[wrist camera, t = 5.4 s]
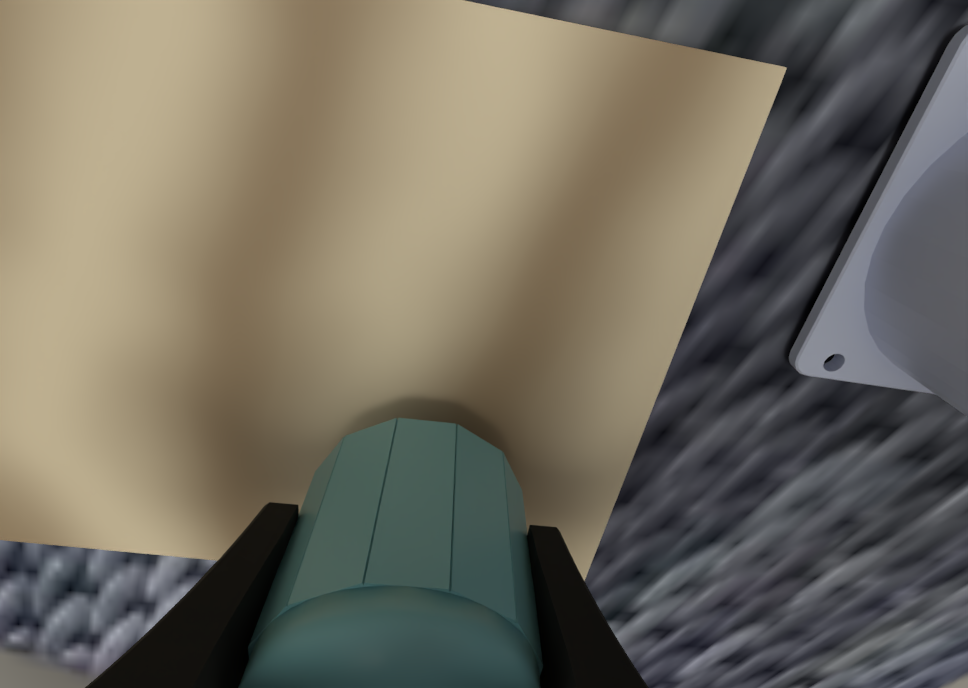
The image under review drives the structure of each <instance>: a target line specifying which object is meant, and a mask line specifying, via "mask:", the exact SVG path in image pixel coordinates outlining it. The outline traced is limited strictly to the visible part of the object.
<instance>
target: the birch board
mask: <svg viewBox="0 0 968 688" xmlns="http://www.w3.org/2000/svg"><path fill="white" fill-rule="evenodd" d="M786 69H787V67H782V66H777V65H772V64H767V63H763V62H758V61H753V60H748V59H743V58H739V57H734V56H729V55H724V54H719V53H714V52H710V51H705V50H700V49H695V48H690V47H686V46H681V45H676V44H671V43H666V42H662V41H657V40H652V39H647V38H642V37H637V36H633V35H628V34H623V33H618V32H613V31H609V30H604V29H599V28H594V27H589V26H584V25H580V24H575V23H570V22H565V21H560V20H556V19H551V18H546V17H541V16H536V15H532V14H527V13H522V12H517V11H512V10H507V9H503V8H498V7H493V6H488V5H483V4H479V3H474V2H469V1H464V0H0V540H7V541H17V542H28V543H38V544H49V545H60V546H70V547H81V548H91V549H102V550H112V551H123V552H133V553H144V554H155V555H165V556H176V557H186V558H197V559H207V560H219V559H220V558H221V556H222V555H223V554H224V553H225V552H226V551H227V550H228V549H229V547H230V546H231V545H232V544H233V543H234V542H235V541H236V539H237V538H238V537H239V536H240V535H241V534H242V532H243V531H244V530H245V529H246V528H247V526H248V525H249V524H250V523H251V522H252V520H253V519H254V518H255V517H256V516H257V514H258V513H259V512H260V511H261V509H262V508H263V507H264V506H265V505H266V504H268V503H269V502H273V503H284V504H296V505H298V509H299V513H300V510H301V507H302V505H303V502H304V500H305V497H306V494H307V492H308V489H309V486H310V484H311V481H312V479H313V476H314V473H315V471H316V470H317V469H318V468H319V466H320V465H321V464H322V463H323V461H324V460H325V459H326V458H327V457H328V455H329V454H330V453H331V452H332V450H333V449H334V448H335V447H336V446H337V444H338V443H339V442H340V441H341V439H342V438H343V437H345V436H346V435H349V434H352V433H355V432H357V431H360V430H363V429H366V428H369V427H372V426H375V425H377V424H380V423H383V422H386V421H389V420H392V419H395V418H397V419H398V418H407V419H416V420H426V421H436V422H446V423H455V424H456V425H457V424H458V425H460V426H462V427H463V428H465V429H467V430H468V431H470V432H472V433H473V434H475V435H477V436H478V437H480V438H481V439H483V440H485V441H486V442H488V443H490V444H491V445H493V446H495V447H496V448H498V449H499V450H501V451H502V452H503V453H504V455H505V457H506V459H507V461H508V463H509V465H510V467H511V469H512V471H513V473H514V475H515V477H516V479H517V481H518V483H519V485H520V487H521V489H522V493H523V501H524V510H525V518H526V526H527V534H528V530H529V526H530V525H538V526H550V527H557V528H558V529H559V531H560V532H561V535H562V537H563V539H564V541H565V543H566V545H567V548H568V550H569V552H570V554H571V556H572V558H573V560H574V562H575V564H576V566H577V568H578V570H579V572H580V574H581V576H582V578H583V580H584V581H585V578H586V576H587V573H588V571H589V568H590V565H591V563H592V560H593V558H594V555H595V553H596V550H597V548H598V545H599V543H600V540H601V538H602V535H603V533H604V530H605V527H606V525H607V522H608V520H609V517H610V515H611V512H612V510H613V507H614V505H615V502H616V500H617V497H618V495H619V492H620V489H621V487H622V484H623V482H624V479H625V477H626V474H627V472H628V469H629V467H630V464H631V462H632V459H633V457H634V454H635V451H636V449H637V446H638V444H639V441H640V439H641V436H642V434H643V431H644V429H645V426H646V424H647V421H648V419H649V416H650V413H651V411H652V408H653V406H654V403H655V401H656V398H657V396H658V393H659V391H660V388H661V386H662V383H663V381H664V378H665V375H666V373H667V370H668V368H669V365H670V363H671V360H672V358H673V355H674V353H675V350H676V348H677V345H678V343H679V340H680V337H681V335H682V332H683V330H684V327H685V325H686V322H687V320H688V317H689V315H690V312H691V310H692V307H693V305H694V302H695V299H696V297H697V294H698V292H699V289H700V287H701V284H702V282H703V279H704V277H705V274H706V272H707V269H708V267H709V264H710V261H711V259H712V256H713V254H714V251H715V249H716V246H717V244H718V241H719V239H720V236H721V234H722V231H723V229H724V226H725V223H726V221H727V218H728V216H729V213H730V211H731V208H732V206H733V203H734V201H735V198H736V196H737V193H738V191H739V188H740V185H741V183H742V180H743V178H744V175H745V173H746V170H747V168H748V165H749V163H750V160H751V158H752V155H753V153H754V150H755V147H756V145H757V142H758V140H759V137H760V135H761V132H762V130H763V127H764V125H765V122H766V120H767V117H768V115H769V112H770V109H771V107H772V104H773V102H774V99H775V97H776V94H777V92H778V89H779V87H780V84H781V82H782V79H783V77H784V74H785V71H786Z"/></svg>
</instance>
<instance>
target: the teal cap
mask: <svg viewBox="0 0 968 688" xmlns="http://www.w3.org/2000/svg"><path fill="white" fill-rule="evenodd" d="M248 655H249V660H248V663H247V666H246V668H245V671H244V674H243V676H242V679H241V682H240V684H239V687H238V688H541V685H540V675H541V672H542V669H543V660H542V652H541V643H540V635H539V627H538V618H537V610H536V601H535V593H534V585H533V579H532V573H531V564H530V556H529V548H528V539H527V526H526V518H525V510H524V501H523V493H522V489H521V487H520V485H519V483H518V481H517V479H516V477H515V475H514V473H513V471H512V469H511V467H510V465H509V463H508V461H507V459H506V457H505V455H504V453H503V452H502V451H501V450H499V449H498V448H496V447H495V446H493V445H491V444H490V443H488V442H486V441H485V440H483V439H481V438H480V437H478V436H477V435H475V434H473V433H472V432H470V431H468V430H467V429H465V428H463V427H462V426H460V425H458V424H457V425H456V424H455V423H446V422H436V421H426V420H416V419H407V418H398V419H397V418H395V419H392V420H389V421H386V422H383V423H380V424H377V425H375V426H372V427H369V428H366V429H363V430H360V431H357V432H355V433H352V434H349V435H346V436H345V437H343V438H342V439H341V441H340V442H339V443H338V444H337V446H336V447H335V448H334V449H333V450H332V452H331V453H330V454H329V455H328V457H327V458H326V459H325V460H324V461H323V463H322V464H321V465H320V466H319V468H318V469H317V470H316V471H315V473H314V476H313V479H312V481H311V484H310V486H309V489H308V492H307V494H306V497H305V500H304V502H303V505H302V507H301V510H300V513H299V517H298V519H297V522H296V525H295V527H294V530H293V532H292V535H291V538H290V540H289V543H288V545H287V548H286V551H285V553H284V556H283V558H282V560H281V563H280V565H279V567H278V570H277V573H276V575H275V578H274V580H273V583H272V586H271V588H270V591H269V593H268V596H267V599H266V601H265V604H264V606H263V609H262V612H261V614H260V617H259V619H258V622H257V625H256V627H255V630H254V633H253V635H252V638H251V640H250V643H249V646H248Z"/></svg>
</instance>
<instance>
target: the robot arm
mask: <svg viewBox="0 0 968 688" xmlns="http://www.w3.org/2000/svg"><path fill="white" fill-rule="evenodd" d="M833 354H835V355H834V357H833V358H832V360H831V361H829V362H827V363H824V361H825V360H826V359H827V358H828V357H829V356H831V355H833ZM789 362H790V364H791V365H792V366H793V367H794V368H795V369H796V370H797V371H798V372H799V373H800V374H803V375H806V376H812V377H819V378H826V379H833V380H840V381H847V382H854V383H861V384H868V385H874V386H881V387H888V388H895V389H902V390H909V391H916V392H923V393H930V394H936V395H937V396H939V397H940V398H942V399H943V400H944V401H946V402H947V403H949V404H950V405H951V406H953V407H954V408H956V409H957V410H958V411H960V412H961V413H963V414H964V415H966V416H967V417H968V25H966V26H964V27H963V28H962V29H961V30H960V31H958V32H957V33H956V34H955V35H954V37H953V38H952V40H951V41H950V42H949V44H948V45H947V47H946V49H945V51H944V53H943V55H942V57H941V59H940V61H939V63H938V65H937V67H936V69H935V71H934V73H933V75H932V77H931V79H930V81H929V82H928V84H927V86H926V88H925V90H924V92H923V94H922V96H921V98H920V100H919V102H918V104H917V106H916V108H915V110H914V112H913V114H912V116H911V117H910V119H909V121H908V123H907V125H906V127H905V129H904V131H903V133H902V135H901V137H900V139H899V141H898V143H897V145H896V147H895V149H894V151H893V152H892V154H891V156H890V158H889V160H888V162H887V164H886V166H885V168H884V170H883V172H882V174H881V176H880V178H879V180H878V182H877V184H876V186H875V188H874V189H873V191H872V193H871V195H870V197H869V199H868V201H867V203H866V205H865V207H864V209H863V211H862V213H861V215H860V217H859V219H858V221H857V223H856V224H855V226H854V228H853V230H852V232H851V234H850V236H849V238H848V240H847V242H846V244H845V246H844V248H843V250H842V252H841V254H840V256H839V258H838V259H837V261H836V263H835V265H834V267H833V269H832V271H831V273H830V275H829V277H828V279H827V281H826V283H825V285H824V287H823V289H822V291H821V293H820V295H819V296H818V298H817V300H816V302H815V304H814V306H813V308H812V310H811V312H810V314H809V316H808V318H807V320H806V322H805V324H804V326H803V328H802V330H801V331H800V333H799V335H798V337H797V339H796V341H795V343H794V345H793V347H792V349H791V351H790V354H789ZM298 517H299V509H298V505H296V504H284V503H273V502H269V503H268V504H266V505H265V506H264V507H263V508H262V509H261V511H260V512H259V513H258V514H257V516H256V517H255V518H254V519H253V520H252V522H251V523H250V524H249V525H248V526H247V528H246V529H245V530H244V531H243V532H242V534H241V535H240V536H239V537H238V538H237V539H236V541H235V542H234V543H233V544H232V545H231V546H230V547H229V549H228V550H227V551H226V552H225V553H224V554H223V555H222V556H221V558H220V559H219V560H218V561H217V562H216V563H215V564H214V565H213V566H212V567H211V568H210V569H209V571H208V572H207V573H206V574H205V575H204V576H203V577H202V578H201V579H200V580H199V581H198V582H197V583H196V585H195V586H194V587H193V588H192V589H191V590H190V591H189V592H188V593H187V594H186V595H185V596H184V597H183V598H182V599H181V600H180V601H179V602H178V603H177V604H176V605H175V606H174V607H173V608H172V609H171V610H170V611H169V612H168V613H167V614H166V615H165V616H164V617H163V618H162V619H161V620H160V621H159V622H158V623H157V624H156V625H155V626H154V627H153V628H152V629H150V630H149V631H148V632H147V633H146V634H145V635H144V636H143V637H142V638H141V639H140V640H139V641H138V642H137V643H135V644H134V645H133V646H132V647H131V648H130V649H129V650H128V651H127V652H126V653H125V654H123V655H122V656H121V657H120V658H119V659H118V660H117V661H116V662H114V663H113V664H112V665H111V666H110V667H109V668H108V669H106V670H105V671H104V672H103V673H102V674H101V675H100V676H98V677H97V678H96V679H95V680H94V681H93V682H91V683H90V684H89V685H88V686H87V687H85V688H238V687H239V684H240V682H241V679H242V676H243V674H244V671H245V668H246V666H247V663H248V660H249V655H248V646H249V643H250V640H251V638H252V635H253V633H254V630H255V627H256V625H257V622H258V619H259V617H260V614H261V612H262V609H263V606H264V604H265V601H266V599H267V596H268V593H269V591H270V588H271V586H272V583H273V580H274V578H275V575H276V573H277V570H278V567H279V565H280V563H281V560H282V558H283V556H284V553H285V551H286V548H287V545H288V543H289V540H290V538H291V535H292V532H293V530H294V527H295V525H296V522H297V519H298ZM527 539H528V548H529V556H530V564H531V573H532V579H533V585H534V593H535V601H536V610H537V618H538V627H539V635H540V643H541V652H542V660H543V669H542V672H541V675H540V685H541V688H648V686H647V685H646V683H645V682H644V680H643V679H642V677H641V676H640V674H639V673H638V671H637V670H636V668H635V667H634V665H633V664H632V662H631V660H630V659H629V657H628V656H627V654H626V653H625V651H624V649H623V648H622V646H621V645H620V643H619V642H618V640H617V638H616V637H615V635H614V633H613V632H612V630H611V628H610V627H609V625H608V623H607V621H606V620H605V618H604V616H603V614H602V613H601V611H600V609H599V607H598V605H597V604H596V602H595V600H594V598H593V597H592V595H591V593H590V591H589V589H588V587H587V586H586V584H585V582H584V580H583V578H582V576H581V574H580V572H579V570H578V568H577V566H576V564H575V562H574V560H573V558H572V556H571V554H570V552H569V550H568V548H567V545H566V543H565V541H564V539H563V537H562V535H561V532H560V531H559V529H558V528H557V527H550V526H538V525H530V526H529V530H528V534H527Z"/></svg>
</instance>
